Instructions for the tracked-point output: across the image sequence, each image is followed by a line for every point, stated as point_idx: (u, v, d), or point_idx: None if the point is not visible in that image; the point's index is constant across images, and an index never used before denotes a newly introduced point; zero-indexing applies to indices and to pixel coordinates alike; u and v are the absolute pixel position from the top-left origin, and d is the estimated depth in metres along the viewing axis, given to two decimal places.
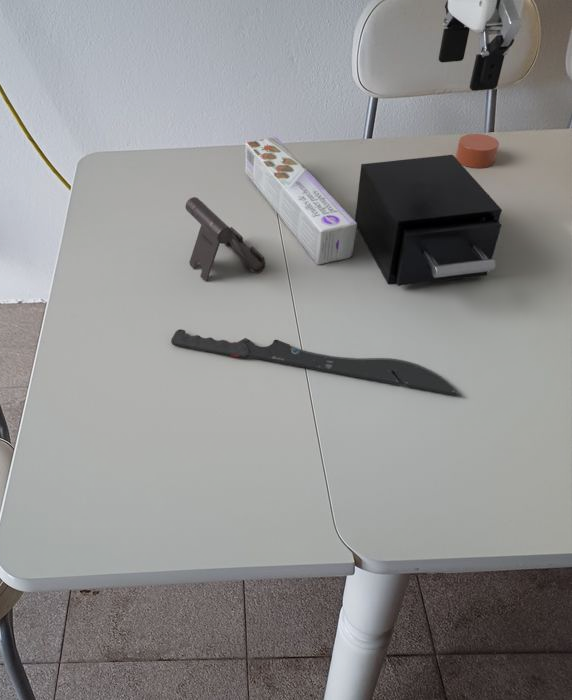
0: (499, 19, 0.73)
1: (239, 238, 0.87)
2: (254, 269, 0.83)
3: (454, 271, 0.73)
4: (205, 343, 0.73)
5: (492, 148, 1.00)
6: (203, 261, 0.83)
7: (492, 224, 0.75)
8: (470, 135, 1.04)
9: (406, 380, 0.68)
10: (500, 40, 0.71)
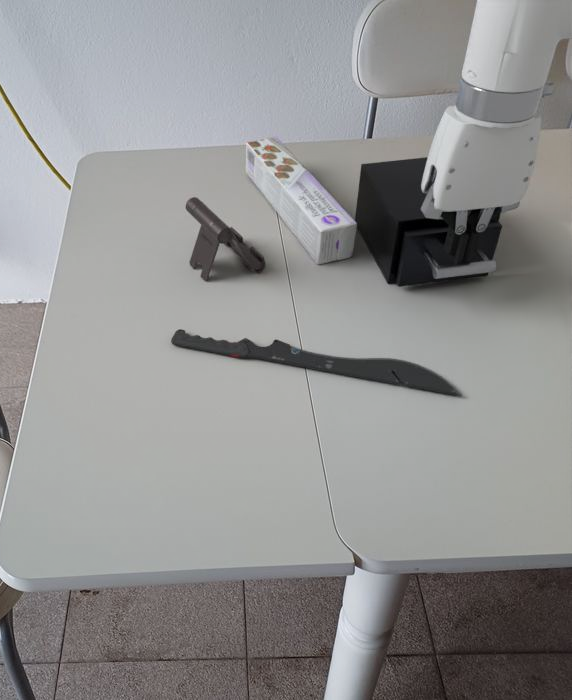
0: None
1: (239, 238, 0.87)
2: (254, 269, 0.83)
3: (454, 272, 0.73)
4: (205, 343, 0.73)
5: None
6: (203, 261, 0.83)
7: (493, 224, 0.75)
8: None
9: (406, 380, 0.68)
10: (499, 208, 0.70)
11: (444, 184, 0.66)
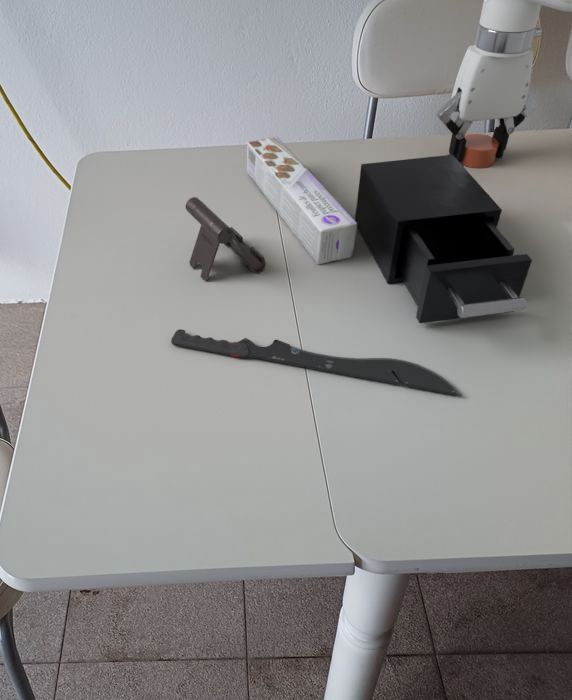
0: None
1: (239, 238, 0.87)
2: (254, 269, 0.83)
3: (481, 311, 0.68)
4: (205, 343, 0.73)
5: (492, 148, 1.00)
6: (203, 261, 0.83)
7: (522, 259, 0.70)
8: (470, 135, 1.04)
9: (406, 380, 0.68)
10: (523, 116, 1.00)
11: (467, 100, 0.95)
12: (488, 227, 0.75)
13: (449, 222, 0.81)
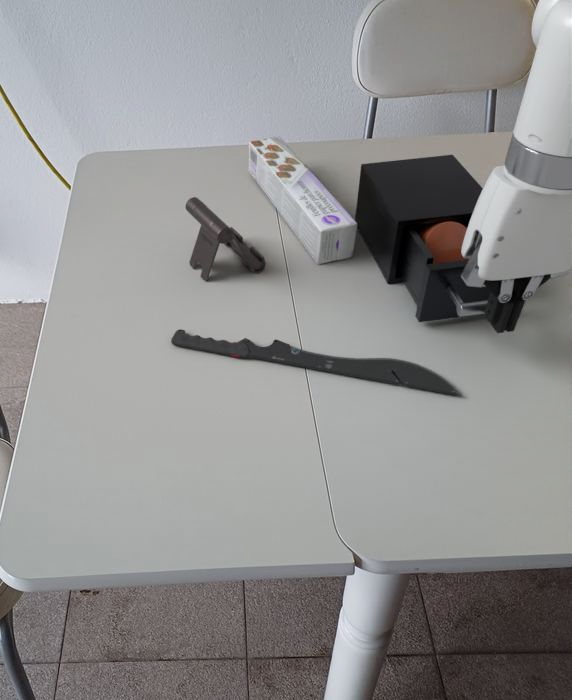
0: None
1: (239, 238, 0.87)
2: (254, 269, 0.83)
3: (480, 310, 0.68)
4: (205, 343, 0.73)
5: None
6: (203, 261, 0.83)
7: None
8: (446, 226, 0.75)
9: (406, 380, 0.68)
10: None
11: (491, 253, 0.58)
12: None
13: None
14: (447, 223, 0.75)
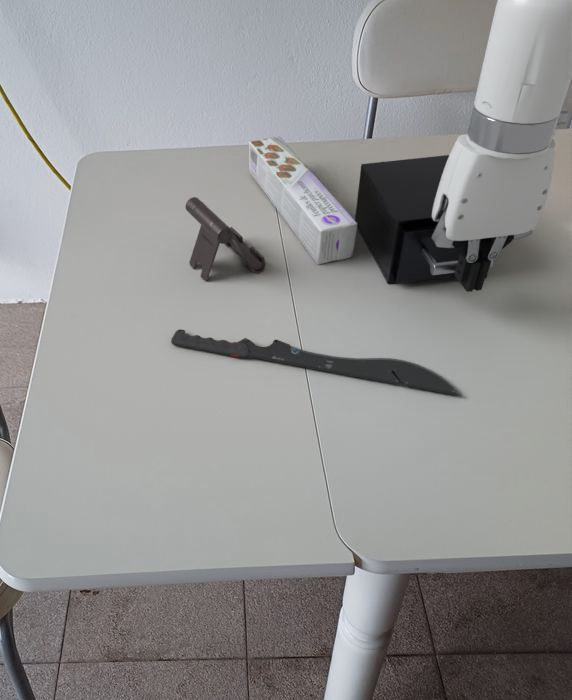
0: None
1: (239, 238, 0.87)
2: (254, 269, 0.83)
3: (452, 269, 0.73)
4: (205, 343, 0.73)
5: None
6: (203, 261, 0.83)
7: None
8: None
9: (406, 380, 0.68)
10: None
11: (456, 214, 0.64)
12: None
13: None
14: None
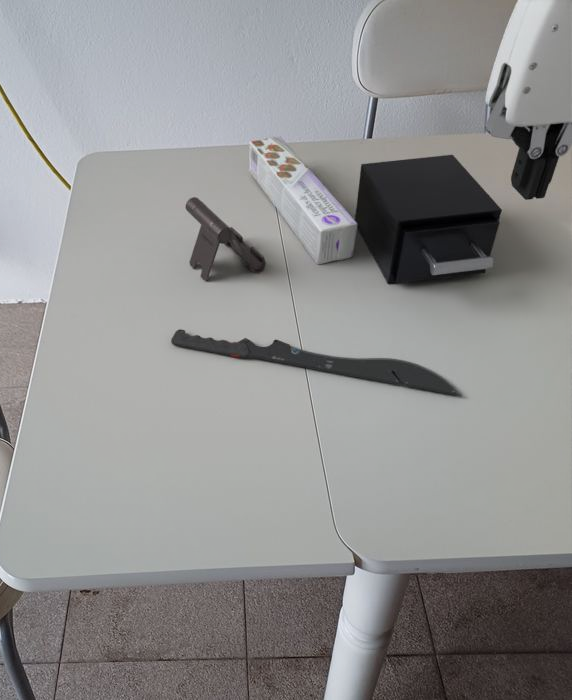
0: None
1: (239, 238, 0.87)
2: (254, 269, 0.83)
3: (452, 269, 0.73)
4: (205, 343, 0.73)
5: None
6: (203, 261, 0.83)
7: (490, 221, 0.76)
8: None
9: (406, 380, 0.68)
10: None
11: (521, 86, 0.50)
12: None
13: None
14: None
